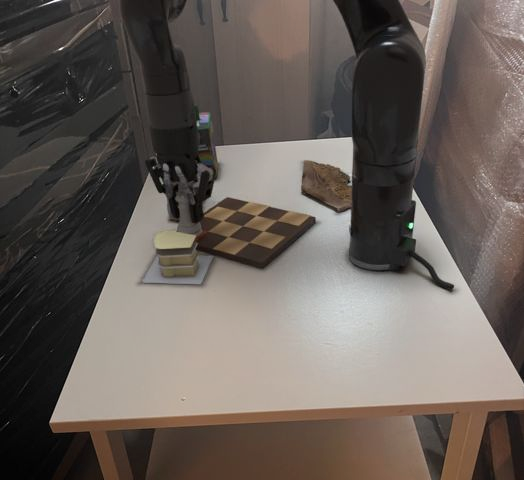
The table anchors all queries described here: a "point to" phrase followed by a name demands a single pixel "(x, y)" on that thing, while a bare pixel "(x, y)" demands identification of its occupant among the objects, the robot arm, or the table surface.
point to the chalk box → (206, 139)
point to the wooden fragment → (327, 184)
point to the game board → (250, 231)
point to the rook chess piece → (186, 216)
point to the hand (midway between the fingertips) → (187, 218)
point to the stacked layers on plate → (177, 260)
